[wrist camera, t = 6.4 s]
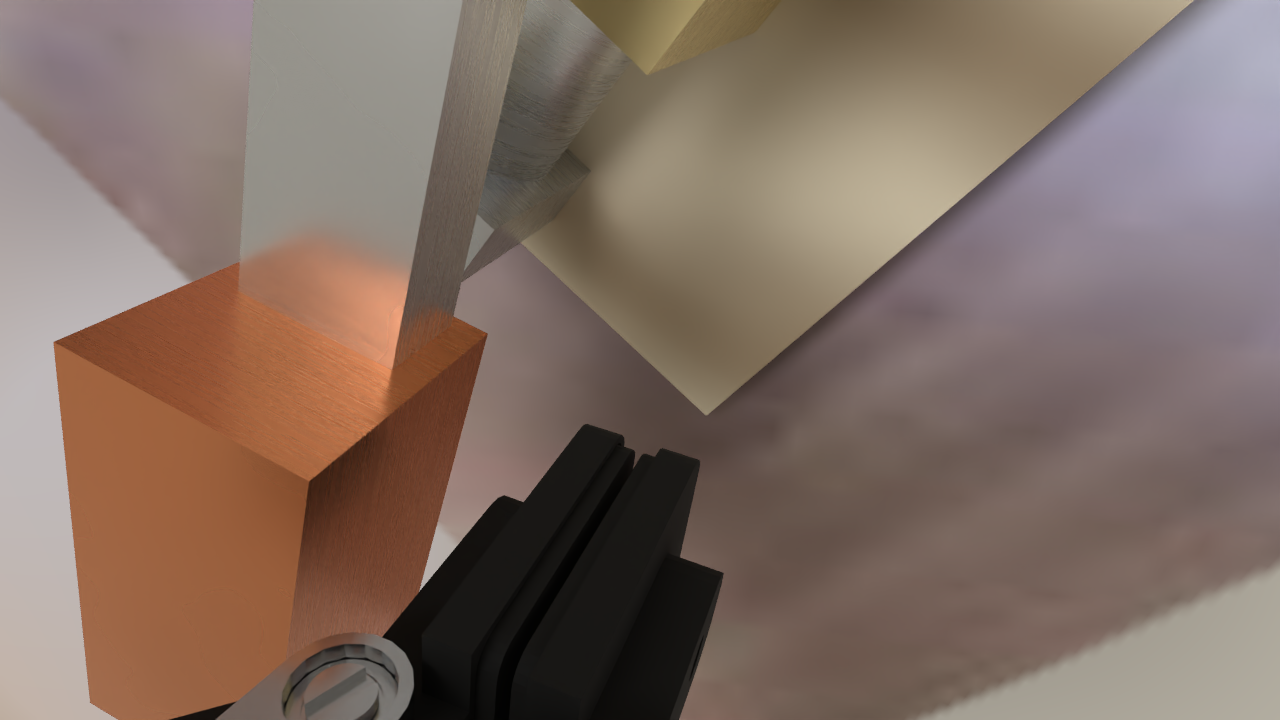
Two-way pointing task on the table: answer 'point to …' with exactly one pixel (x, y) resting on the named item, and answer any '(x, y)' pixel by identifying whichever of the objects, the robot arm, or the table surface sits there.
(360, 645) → the robot arm
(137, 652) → the lever
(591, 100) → the valve body
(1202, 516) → the table surface
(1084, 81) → the board
